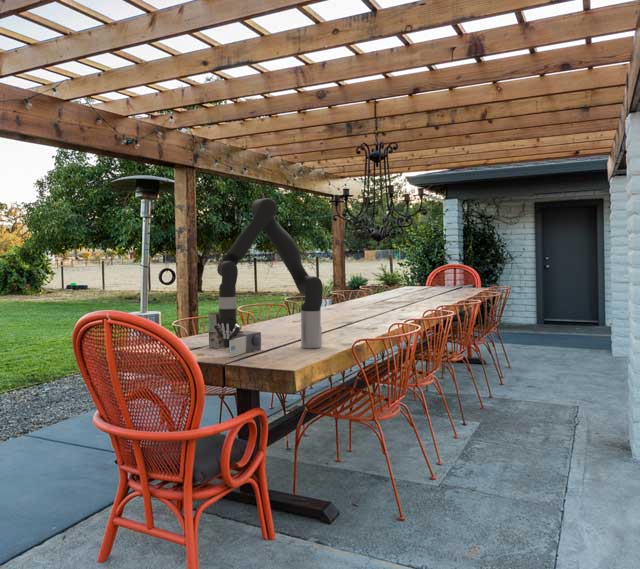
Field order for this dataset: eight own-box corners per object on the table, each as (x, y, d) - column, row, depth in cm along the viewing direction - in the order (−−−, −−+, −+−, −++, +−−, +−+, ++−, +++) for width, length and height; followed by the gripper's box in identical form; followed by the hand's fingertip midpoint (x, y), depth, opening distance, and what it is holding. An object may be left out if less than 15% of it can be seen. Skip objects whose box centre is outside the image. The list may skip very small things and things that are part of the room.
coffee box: (218, 348, 261) (217, 314, 260) (208, 347, 265) (207, 313, 264) (232, 345, 269) (231, 312, 268) (222, 344, 272) (221, 311, 271)
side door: (229, 356, 237) (229, 340, 237) (245, 351, 250) (245, 335, 249) (232, 357, 237) (232, 340, 236) (248, 352, 249) (248, 335, 249)
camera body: (244, 347, 263) (244, 328, 263) (263, 349, 257) (263, 330, 256) (230, 350, 255) (230, 331, 255) (249, 352, 249) (249, 333, 248)
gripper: (209, 307, 239) (210, 347, 240) (235, 308, 234) (236, 349, 235) (219, 306, 246) (220, 345, 247) (245, 307, 241) (245, 347, 242)
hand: (227, 347), depth 241 cm, fingers closed
